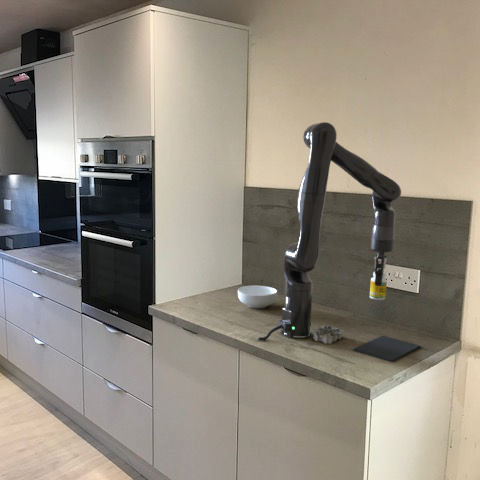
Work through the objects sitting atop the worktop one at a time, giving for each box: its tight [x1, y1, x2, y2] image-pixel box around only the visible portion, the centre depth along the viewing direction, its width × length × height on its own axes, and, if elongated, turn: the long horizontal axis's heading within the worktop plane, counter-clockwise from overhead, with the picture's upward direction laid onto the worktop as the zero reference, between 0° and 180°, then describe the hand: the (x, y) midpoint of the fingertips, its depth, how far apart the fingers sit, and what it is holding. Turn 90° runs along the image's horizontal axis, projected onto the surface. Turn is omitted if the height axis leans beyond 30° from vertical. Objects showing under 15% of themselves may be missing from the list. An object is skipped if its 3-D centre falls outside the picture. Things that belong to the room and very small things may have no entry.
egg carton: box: [311, 323, 344, 345], centre depth 186 cm, size 11×8×4 cm
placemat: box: [353, 335, 421, 363], centre depth 177 cm, size 20×13×1 cm, turn 131°
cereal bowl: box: [237, 285, 278, 309], centre depth 226 cm, size 17×17×7 cm
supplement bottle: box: [369, 271, 388, 301], centre depth 190 cm, size 5×5×10 cm
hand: (378, 283), depth 190 cm, fingers closed on supplement bottle, 5 cm apart
